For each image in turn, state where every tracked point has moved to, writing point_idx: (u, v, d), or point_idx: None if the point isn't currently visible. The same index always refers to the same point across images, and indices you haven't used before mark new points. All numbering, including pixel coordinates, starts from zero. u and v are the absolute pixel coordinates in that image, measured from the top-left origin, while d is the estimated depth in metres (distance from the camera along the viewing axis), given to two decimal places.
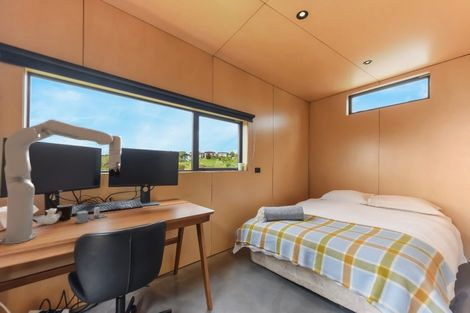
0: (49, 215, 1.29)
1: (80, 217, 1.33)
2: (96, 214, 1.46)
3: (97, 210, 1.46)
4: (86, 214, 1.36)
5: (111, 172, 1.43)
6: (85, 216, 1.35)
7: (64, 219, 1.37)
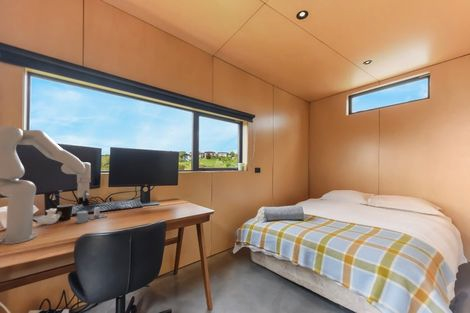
0: (49, 215, 1.29)
1: (80, 217, 1.33)
2: (96, 214, 1.46)
3: (97, 210, 1.46)
4: (86, 214, 1.36)
5: (81, 200, 1.39)
6: (85, 216, 1.35)
7: (64, 219, 1.37)
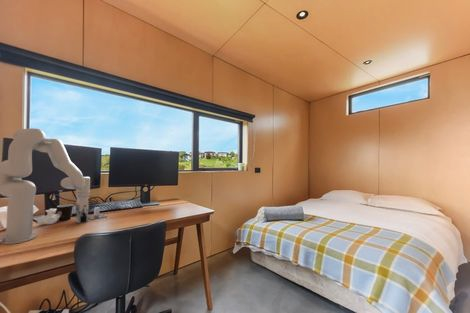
0: (49, 215, 1.29)
1: (80, 217, 1.33)
2: (96, 214, 1.46)
3: (97, 210, 1.46)
4: None
5: None
6: None
7: (64, 219, 1.37)
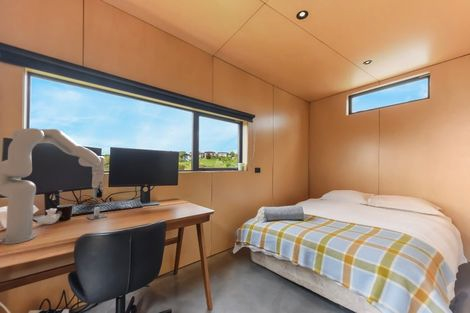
0: (49, 215, 1.29)
1: (96, 193, 1.45)
2: (96, 214, 1.46)
3: (97, 210, 1.46)
4: None
5: None
6: None
7: (64, 219, 1.37)
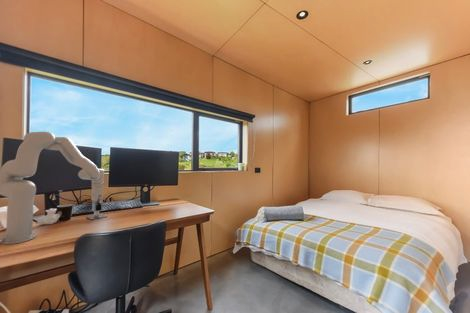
0: (49, 215, 1.29)
1: (95, 206, 1.44)
2: (96, 214, 1.46)
3: None
4: (101, 203, 1.47)
5: None
6: None
7: (64, 219, 1.37)
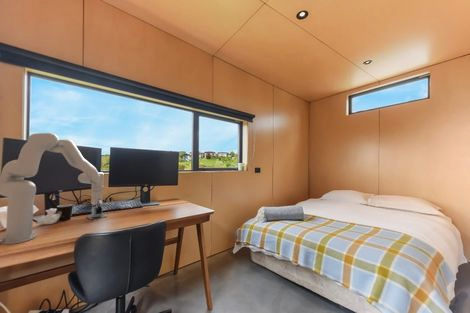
0: (49, 215, 1.29)
1: (95, 211, 1.44)
2: None
3: None
4: None
5: None
6: None
7: (64, 219, 1.37)
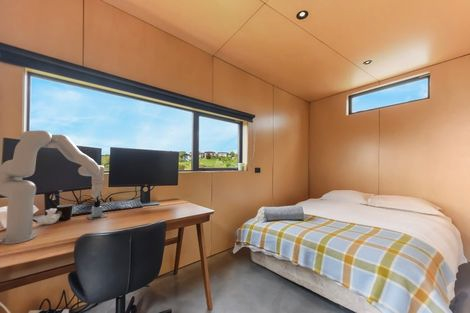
0: (49, 215, 1.29)
1: (95, 211, 1.44)
2: None
3: None
4: (100, 209, 1.47)
5: None
6: (99, 210, 1.46)
7: (64, 219, 1.37)
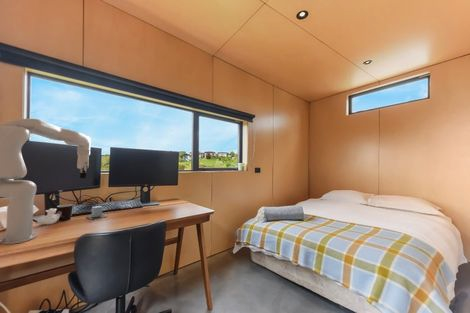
0: (49, 215, 1.29)
1: (95, 211, 1.44)
2: None
3: None
4: (100, 209, 1.47)
5: None
6: (99, 210, 1.46)
7: (64, 219, 1.37)
